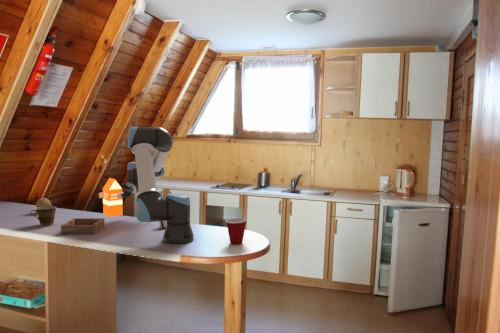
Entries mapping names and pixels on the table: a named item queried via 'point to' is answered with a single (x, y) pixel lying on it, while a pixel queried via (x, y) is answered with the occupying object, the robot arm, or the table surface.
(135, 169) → the robot arm
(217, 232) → the table surface
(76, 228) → the tray
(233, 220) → the plastic cup
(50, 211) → the ceramic cup
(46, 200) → the natural sponge
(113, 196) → the orange juice
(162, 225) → the hinge
